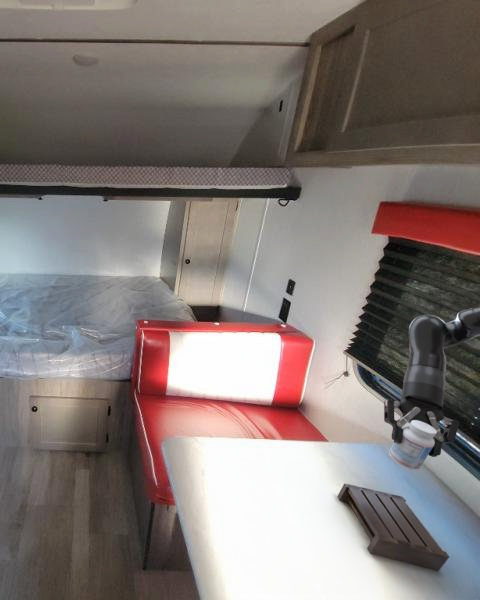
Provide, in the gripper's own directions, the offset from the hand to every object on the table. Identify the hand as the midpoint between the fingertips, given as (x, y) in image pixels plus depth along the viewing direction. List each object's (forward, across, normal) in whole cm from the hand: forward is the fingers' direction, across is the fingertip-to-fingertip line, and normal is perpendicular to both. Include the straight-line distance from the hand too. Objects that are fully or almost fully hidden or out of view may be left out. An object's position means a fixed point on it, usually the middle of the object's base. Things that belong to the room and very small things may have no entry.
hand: (414, 449), depth 82 cm
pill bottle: (+3, 0, +5) cm, 6 cm away
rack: (+20, -1, +8) cm, 22 cm away
